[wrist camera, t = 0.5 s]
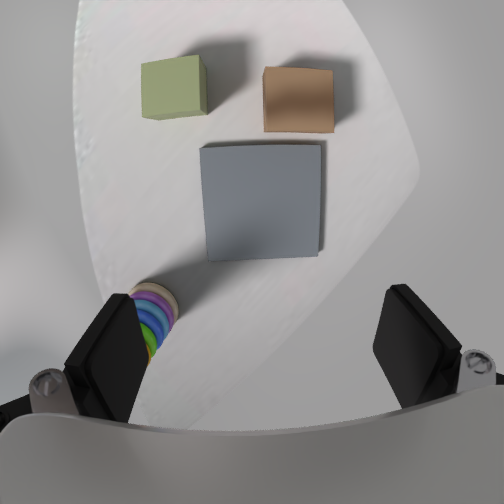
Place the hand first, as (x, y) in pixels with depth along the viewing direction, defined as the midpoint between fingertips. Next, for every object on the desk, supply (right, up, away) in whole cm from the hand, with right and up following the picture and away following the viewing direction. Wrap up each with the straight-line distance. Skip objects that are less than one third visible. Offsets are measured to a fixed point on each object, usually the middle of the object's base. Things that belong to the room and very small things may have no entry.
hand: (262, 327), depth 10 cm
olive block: (-9, +21, +19) cm, 30 cm away
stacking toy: (-15, -5, +30) cm, 34 cm away
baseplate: (+1, +9, +25) cm, 26 cm away
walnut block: (+4, +20, +20) cm, 29 cm away
